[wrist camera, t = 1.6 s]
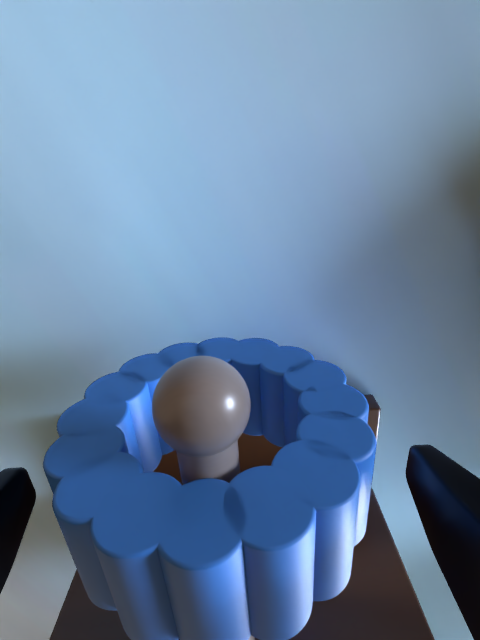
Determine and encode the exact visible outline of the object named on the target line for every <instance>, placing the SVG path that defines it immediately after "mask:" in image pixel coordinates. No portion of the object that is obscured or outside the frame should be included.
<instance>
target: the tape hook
mask: <svg viewBox="0 0 480 640" xmlns="http://www.w3.org/2000/svg"><path fill="white" fill-rule="evenodd" d="M364 396H365V398H366V400H367V402H368V405H369V413H368V423H367V424H368V425H369V426H370V428H371V429H372V431H373V433H374V435H375V437H376V444H377V435H378V427H379V419H380V411H381V409H380V407H379V405H378V403H377V401H376V400H375V398H374V396H373V395H371V394H369V395H364ZM250 410H251V400H250V394H249V390H248V387H247V385H246V383H245V381H244V379H243V377H242V376H241V375H240V373H239V372H238V371H237V370H236V369H235V368H234V367H233V366H232V365H230V364H228V363H227V362H225V361H223V360H221V359H219V358H216V357H211V356H193V357H189V358H186V359H184V360H181V361H179V362H177V363H176V364H174V365H173V366H172V367H170V368H169V369H168V370H167V371H166V372H165V373H164V375H163V376H162V377H161V378H160V380H159V382H158V384H157V386H156V388H155V391H154V394H153V399H152V417H153V421H154V424H155V427H156V429H157V431H158V433H159V435H160V436H161V438H162V439H163V440H164V441H165V442H166V443H167V444H168V445H169V446H170V447H171V448H173V449H174V451H172V452H170V453H168V454H165V455H162V458H161V461H160V463H159V465H158V467H157V468H156V469H155V470H154V471H153V472H160V473H164V474H167V475H170V476H172V477H174V478H175V479H176V480H178V481H179V483H180V484H181V485H184V484H186V483H188V482H191V481H194V480H198V479H205V478H213V479H219V480H223V481H226V482H228V483H229V482H230V481H231V480H232V479H233V478H234V477H235V476H237V475H238V474H239V473H241V472H243V471H245V470H247V469H250V468H253V467H257V466H271V464H272V461H273V459H274V457H275V455H276V454H277V452H278V451H279V450H280V449H282V448H283V447H279V446H276V445H274V444H272V443H270V442H269V441H268V440H267V439H266V438H265V437H264V435H260V436H253V435H248V434H245V433H243V432H244V430H245V428H246V426H247V423H248V420H249V416H250ZM50 640H131V639H130V638H129V637H128V635H127V634H126V632H125V630H124V628H123V625H122V623H121V620H120V617H119V614H118V611H117V610H115V611H113V610H105V609H102V608H99V607H98V606H96V605H95V604H93V603H92V602H91V600H90V599H89V597H88V595H87V592H86V590H85V587H84V585H83V583H82V580H81V578H80V575H79V573H78V570H76V572H75V575H74V577H73V580H72V583H71V585H70V588H69V590H68V593H67V596H66V598H65V601H64V603H63V606H62V609H61V611H60V614H59V616H58V619H57V622H56V624H55V627H54V629H53V632H52V634H51V637H50ZM178 640H180V639H178ZM248 640H259V639H257V638H255V637H253V636H252V635H251V636H250V638H249V639H248ZM288 640H434V637H433V635H432V633H431V630H430V628H429V625H428V623H427V620H426V618H425V616H424V613H423V611H422V608H421V606H420V603H419V601H418V599H417V596H416V594H415V591H414V589H413V586H412V584H411V582H410V579H409V577H408V574H407V572H406V569H405V567H404V565H403V562H402V560H401V557H400V555H399V552H398V550H397V548H396V545H395V543H394V540H393V538H392V536H391V533H390V531H389V528H388V526H387V523H386V521H385V519H384V516H383V514H382V511H381V509H380V506H379V504H378V502H377V499H376V497H375V494H374V492H373V490H372V488H371V494H370V502H369V510H368V518H367V526H366V532H365V535H364V537H363V538H362V540H361V541H360V542H359V543H358V544H357V545H356V546H354V549H353V559H352V568H351V575H350V579H349V582H348V584H347V586H346V587H345V588H344V590H343V591H342V592H341V593H340V594H339V595H337V596H336V597H334V598H332V599H329V600H326V601H313V606H312V611H311V614H310V617H309V619H308V621H307V623H306V625H305V626H304V627H303V629H302V630H301V631H300V632H299V633H298V634H296V635H295V636H294V637H292V638H290V639H288Z"/></svg>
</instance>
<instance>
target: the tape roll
mask: <svg viewBox="0 0 480 640" xmlns="http://www.w3.org/2000/svg"><path fill="white" fill-rule="evenodd" d="M193 356H211V357H216V358H219V359H221V360H223V361H225V362H227V363H228V364H230V365H232V366H233V367H234V368H235V369H236V370H237V371H238V372H239V373H240V375H241V376H242V377H243V379H244V381H245V383H246V385H247V387H248V390H249V394H250V400H251V410H250V416H249V420H248V423H247V426H246V428H245V430H244V432H243V433H245V434H248V435H253V436H260V435H264V437H265V438H266V439H267V440H268V441H269V442H270V443H272V444H274V445H276V446H279V447H283V448H282V449H280V450H279V451H278V452H277V454H276V455H275V457H274V459H273V461H272V464H271V466H257V467H253V468H250V469H247V470H245V471H243V472H241V473H239V474H238V475H237V476H235V477H234V478H233V479H232V480H231V481H230V482H229V483H228V482H226V481H223V480H219V479H213V478H205V479H198V480H194V481H191V482H188V483H186V484H184V485H181V484H180V483H179V481H178V480H176V479H175V478H174V477H172V476H170V475H167V474H164V473H160V472H153V471H154V470H155V469H156V468H157V467H158V465H159V463H160V461H161V458H162V455H165V454H168V453H170V452H172V451H174V449H173V448H171V447H170V446H169V445H168V444H167V443H166V442H165V441H164V440H163V439H162V438H161V436H160V435H159V433H158V431H157V429H156V427H155V424H154V421H153V417H152V399H153V394H154V391H155V388H156V386H157V384H158V382H159V380H160V378H161V377H162V376H163V375H164V373H165V372H166V371H167V370H168V369H169V368H170V367H172V366H173V365H174V364H176V363H177V362H179V361H181V360H184V359H186V358H189V357H193ZM368 413H369V405H368V402H367V400H366V398H365V396H364V395H363V394H362V393H361V392H360V391H358V390H357V389H355V388H353V387H351V386H349V385H346V376H345V374H344V372H343V371H342V370H341V369H340V368H339V367H337V366H336V365H334V364H332V363H329V362H325V361H320V360H315V359H314V357H313V356H312V354H311V353H310V352H308V351H306V350H304V349H302V348H298V347H293V346H280V347H279V346H278V345H277V344H276V343H274V342H273V341H270V340H267V339H262V338H249V339H244V340H240V341H237V340H235V339H231V338H212V339H208V340H205V341H202V342H200V343H199V344H197V343H179V344H174V345H171V346H169V347H166V348H164V349H163V350H161V351H160V352H159V353H158V354H157V353H155V354H146V355H141V356H138V357H135V358H133V359H131V360H129V361H127V362H126V363H125V364H124V365H122V367H121V368H120V370H119V372H115V373H111V374H108V375H105V376H103V377H101V378H99V379H97V380H96V381H94V382H93V383H92V384H91V385H90V386H89V387H88V388H87V389H86V391H85V395H84V399H83V400H81V401H79V402H77V403H75V404H74V405H72V406H71V407H69V408H68V409H67V410H66V411H65V412H64V413H63V414H62V415H61V416H60V418H59V420H58V423H57V431H58V434H59V437H60V438H58V439H57V440H56V441H55V442H54V443H53V444H52V445H51V446H50V448H49V449H48V451H47V452H46V454H45V457H44V462H43V468H44V471H45V474H46V477H47V479H48V482H49V484H50V487H51V489H52V492H53V494H54V495H53V501H52V507H53V511H54V513H55V516H56V518H57V521H58V523H59V526H60V528H61V531H62V533H63V536H64V538H65V541H66V543H67V545H68V548H69V550H70V553H71V555H72V558H73V560H74V563H75V565H76V568H77V570H78V573H79V575H80V578H81V580H82V583H83V585H84V587H85V590H86V592H87V595H88V597H89V599H90V600H91V602H92V603H93V604H95V605H96V606H98V607H99V608H102V609H105V610H113V611H115V610H117V611H118V614H119V617H120V620H121V623H122V625H123V628H124V630H125V632H126V634H127V635H128V637H129V638H130V639H131V640H178V639H180V640H248V639H249V638H250V636H251V635H252V636H253V637H255V638H257V639H259V640H288V639H290V638H292V637H294V636H295V635H296V634H298V633H299V632H300V631H301V630H302V629H303V627H304V626H305V625H306V623H307V621H308V619H309V617H310V614H311V611H312V606H313V601H326V600H329V599H332V598H334V597H336V596H337V595H339V594H340V593H341V592H342V591H343V590H344V588H345V587H346V586H347V584H348V582H349V579H350V575H351V568H352V559H353V549H354V546H356V545H357V544H358V543H359V542H360V541H361V540H362V538H363V537H364V535H365V532H366V526H367V518H368V510H369V502H370V494H371V485H372V477H373V469H374V461H375V453H376V437H375V435H374V433H373V431H372V429H371V428H370V426H369V425H368V424H367V423H368Z"/></svg>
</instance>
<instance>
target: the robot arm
mask: <svg viewBox="0 0 480 640" xmlns="http://www.w3.org/2000/svg"><path fill="white" fill-rule="evenodd" d="M406 478H407V482H408V485H409V488H410V491H411V494H412V496H413V499H414V502H415V505H416V507H417V510H418V513H419V516H420V519H421V521H422V524H423V527H424V530H425V532H426V535H427V538H428V541H429V543H430V546H431V548H432V551H433V553H434V556H435V558H436V560H437V562H438V564H439V567H440V569H441V571H442V573H443V575H444V577H445V579H446V581H447V583H448V586H449V588H450V590H451V592H452V594H453V596H454V598H455V600H456V602H457V605H458V607H459V609H460V611H461V613H462V615H463V617H464V619H465V621H466V624H467V626H468V628H469V630H470V632H471V634H472V636H473V638H474V640H480V479H479V478H478V477H476V476H475V475H473V474H472V473H470V472H469V471H468V470H466V469H465V468H463V467H462V466H460V465H459V464H458V463H456V462H455V461H453V460H452V459H450V458H449V457H447V456H446V455H445V454H443V453H442V452H440V451H439V450H437V449H436V448H434V447H433V446H431V445H413V446H411V448H410V450H409V456H408V461H407V467H406ZM35 500H36V492H35V489H34V487H33V484H32V482H31V479H30V477H29V475H28V472H27V470H26V469H24V468H22V467H20V468H7V469H4V470H2V471H1V472H0V593H1V591H2V589H3V587H4V584H5V582H6V580H7V578H8V575H9V573H10V570H11V568H12V565H13V563H14V560H15V557H16V555H17V552H18V549H19V546H20V543H21V540H22V538H23V535H24V532H25V529H26V526H27V524H28V521H29V518H30V515H31V512H32V510H33V507H34V504H35Z"/></svg>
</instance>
